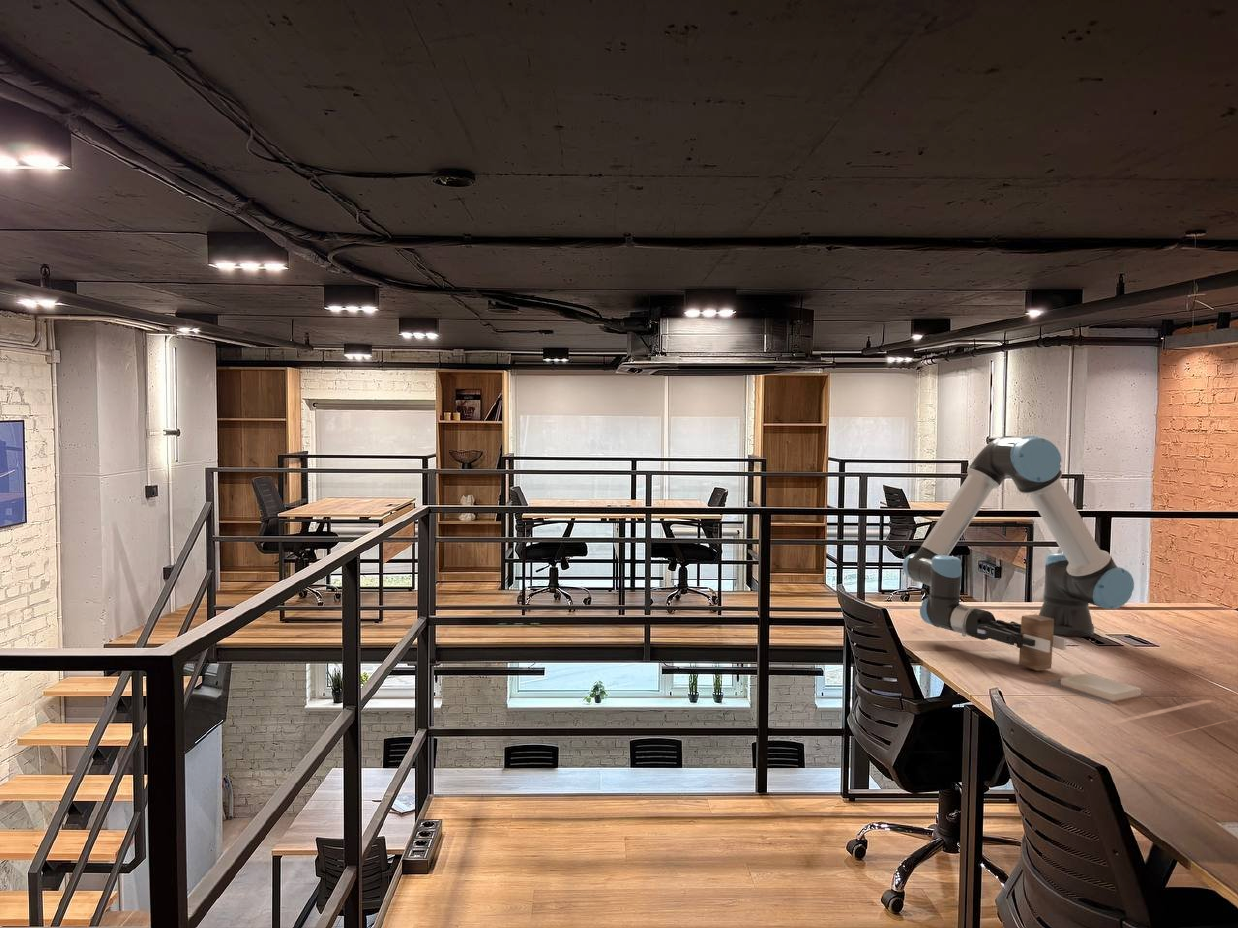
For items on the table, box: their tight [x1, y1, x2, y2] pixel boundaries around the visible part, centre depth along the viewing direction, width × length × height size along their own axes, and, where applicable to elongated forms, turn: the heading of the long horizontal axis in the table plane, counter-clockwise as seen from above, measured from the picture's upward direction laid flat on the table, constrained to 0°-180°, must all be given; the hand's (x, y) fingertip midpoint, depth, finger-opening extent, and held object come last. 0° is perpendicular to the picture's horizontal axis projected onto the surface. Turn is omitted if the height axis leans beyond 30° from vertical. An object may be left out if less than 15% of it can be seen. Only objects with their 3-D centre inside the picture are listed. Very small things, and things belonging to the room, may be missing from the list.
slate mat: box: [1044, 679, 1148, 705], centre depth 185 cm, size 15×14×1 cm
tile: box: [1060, 672, 1142, 703], centre depth 184 cm, size 2×10×12 cm
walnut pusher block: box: [1018, 613, 1054, 672], centre depth 198 cm, size 5×5×12 cm
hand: (1056, 645), depth 193 cm, fingers closed on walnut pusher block, 5 cm apart
